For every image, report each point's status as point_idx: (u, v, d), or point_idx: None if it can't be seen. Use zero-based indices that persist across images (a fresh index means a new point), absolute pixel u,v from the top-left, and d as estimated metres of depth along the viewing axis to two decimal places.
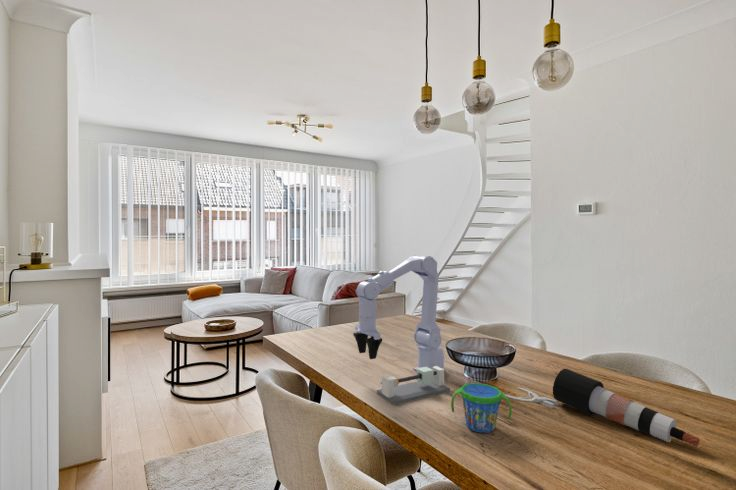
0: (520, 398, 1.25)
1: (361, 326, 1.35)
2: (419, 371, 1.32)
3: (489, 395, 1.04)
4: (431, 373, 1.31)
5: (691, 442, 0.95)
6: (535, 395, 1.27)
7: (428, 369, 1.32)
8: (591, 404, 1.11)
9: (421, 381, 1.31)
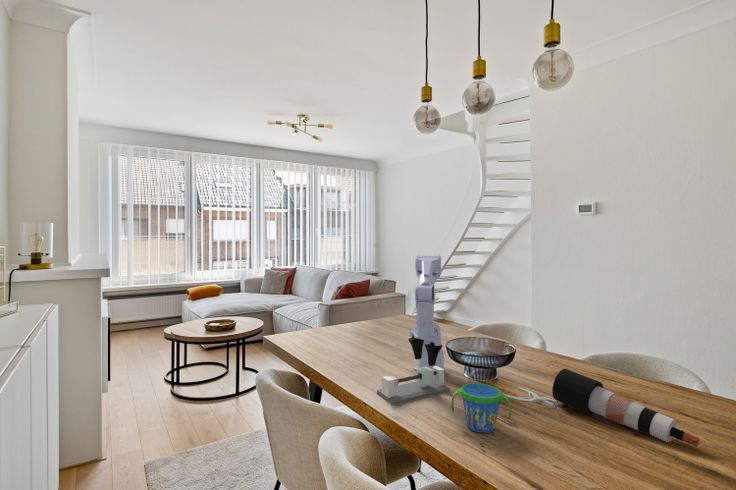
0: (520, 398, 1.25)
1: (419, 331, 1.30)
2: (419, 371, 1.32)
3: (489, 395, 1.04)
4: (431, 373, 1.31)
5: (691, 442, 0.95)
6: (535, 395, 1.27)
7: (428, 369, 1.32)
8: (591, 404, 1.11)
9: (421, 381, 1.31)
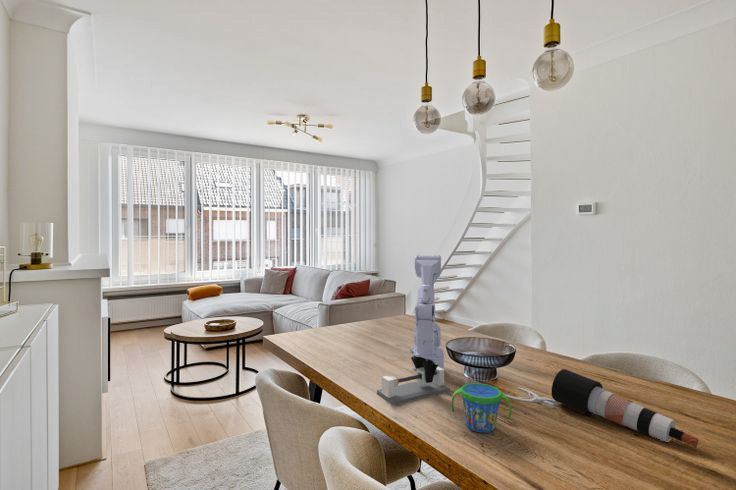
0: (520, 398, 1.25)
1: (419, 350, 1.30)
2: (419, 371, 1.32)
3: (489, 395, 1.04)
4: None
5: (690, 442, 0.95)
6: (535, 395, 1.27)
7: None
8: (590, 404, 1.11)
9: (421, 381, 1.31)
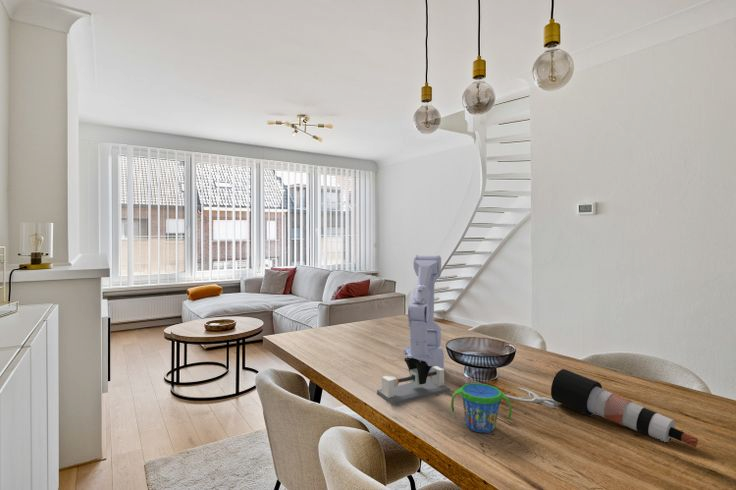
0: (520, 398, 1.25)
1: (413, 351, 1.29)
2: (412, 372, 1.30)
3: (489, 395, 1.04)
4: None
5: (689, 442, 0.95)
6: (535, 395, 1.27)
7: None
8: (589, 404, 1.11)
9: (414, 382, 1.29)
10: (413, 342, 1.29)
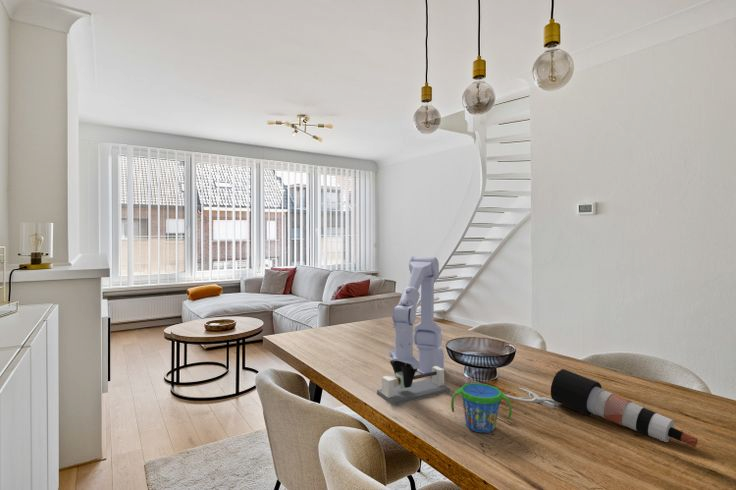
0: (520, 398, 1.25)
1: (398, 353, 1.26)
2: (398, 375, 1.28)
3: (489, 395, 1.04)
4: None
5: (689, 442, 0.95)
6: (535, 395, 1.27)
7: None
8: (589, 405, 1.11)
9: (400, 386, 1.27)
10: (398, 344, 1.26)
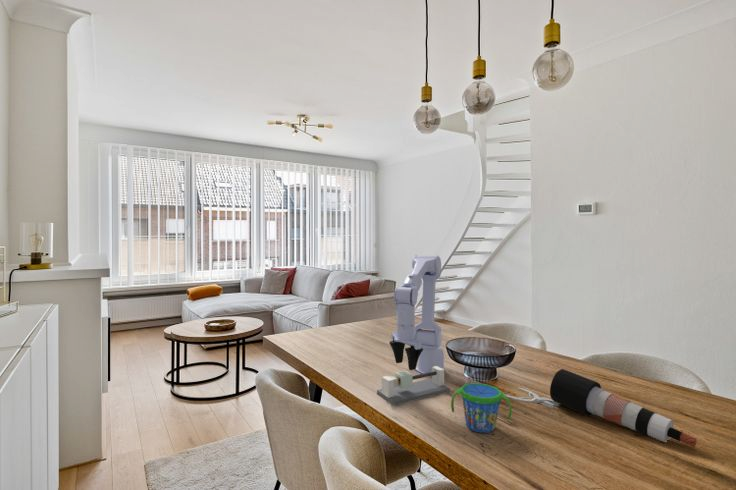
0: (520, 398, 1.25)
1: (399, 334, 1.26)
2: (398, 375, 1.28)
3: (489, 395, 1.04)
4: (410, 377, 1.27)
5: (688, 442, 0.95)
6: (536, 395, 1.27)
7: (407, 373, 1.28)
8: (588, 405, 1.11)
9: (399, 386, 1.27)
10: (400, 326, 1.26)
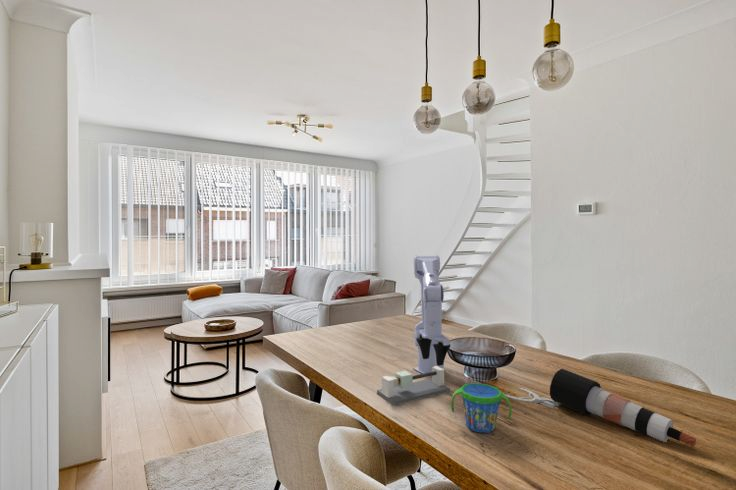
0: (520, 398, 1.25)
1: (427, 331, 1.30)
2: (398, 375, 1.28)
3: (489, 395, 1.04)
4: (410, 377, 1.27)
5: (688, 442, 0.95)
6: (536, 395, 1.27)
7: (407, 373, 1.28)
8: (588, 404, 1.11)
9: (399, 386, 1.27)
10: (428, 322, 1.30)
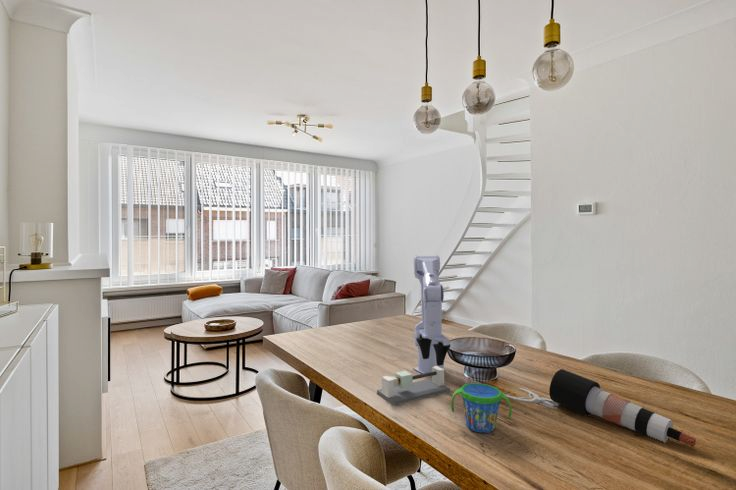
0: (520, 398, 1.25)
1: (427, 331, 1.30)
2: (398, 375, 1.28)
3: (489, 395, 1.04)
4: (410, 377, 1.27)
5: (687, 442, 0.95)
6: (536, 396, 1.27)
7: (407, 373, 1.28)
8: (588, 405, 1.11)
9: (399, 386, 1.27)
10: (428, 322, 1.30)
